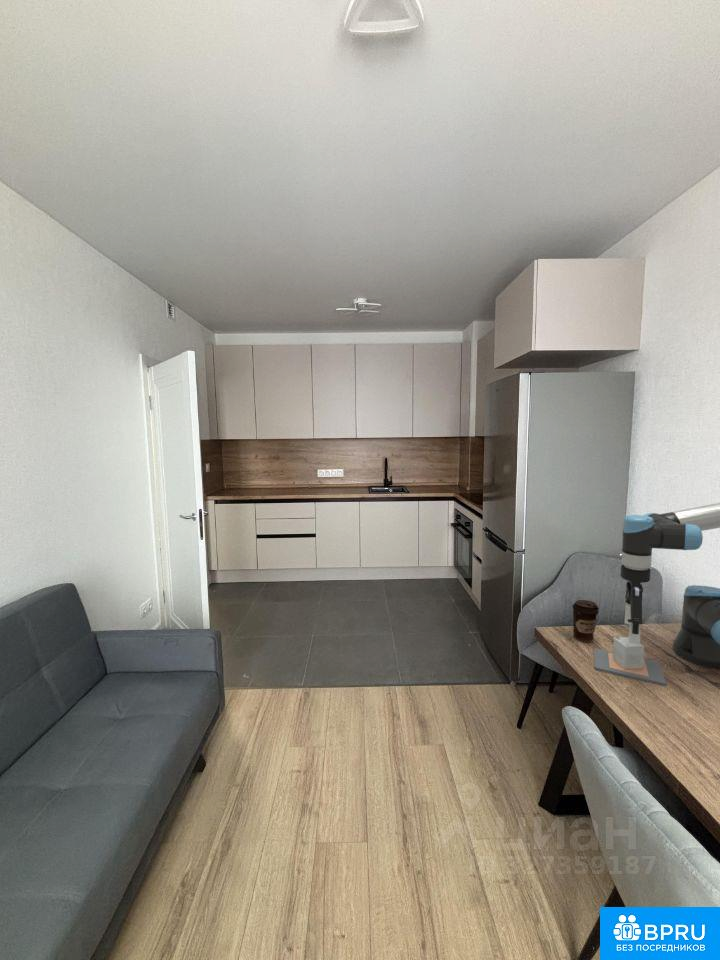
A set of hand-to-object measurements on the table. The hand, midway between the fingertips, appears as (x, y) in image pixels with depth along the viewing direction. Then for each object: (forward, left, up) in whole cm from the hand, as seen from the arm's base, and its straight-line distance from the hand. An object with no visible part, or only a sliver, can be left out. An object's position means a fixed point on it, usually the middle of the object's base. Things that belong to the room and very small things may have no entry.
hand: (631, 633), depth 130 cm
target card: (0, 0, -11) cm, 11 cm away
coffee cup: (+12, -14, -11) cm, 22 cm away
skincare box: (+1, 0, -10) cm, 10 cm away
